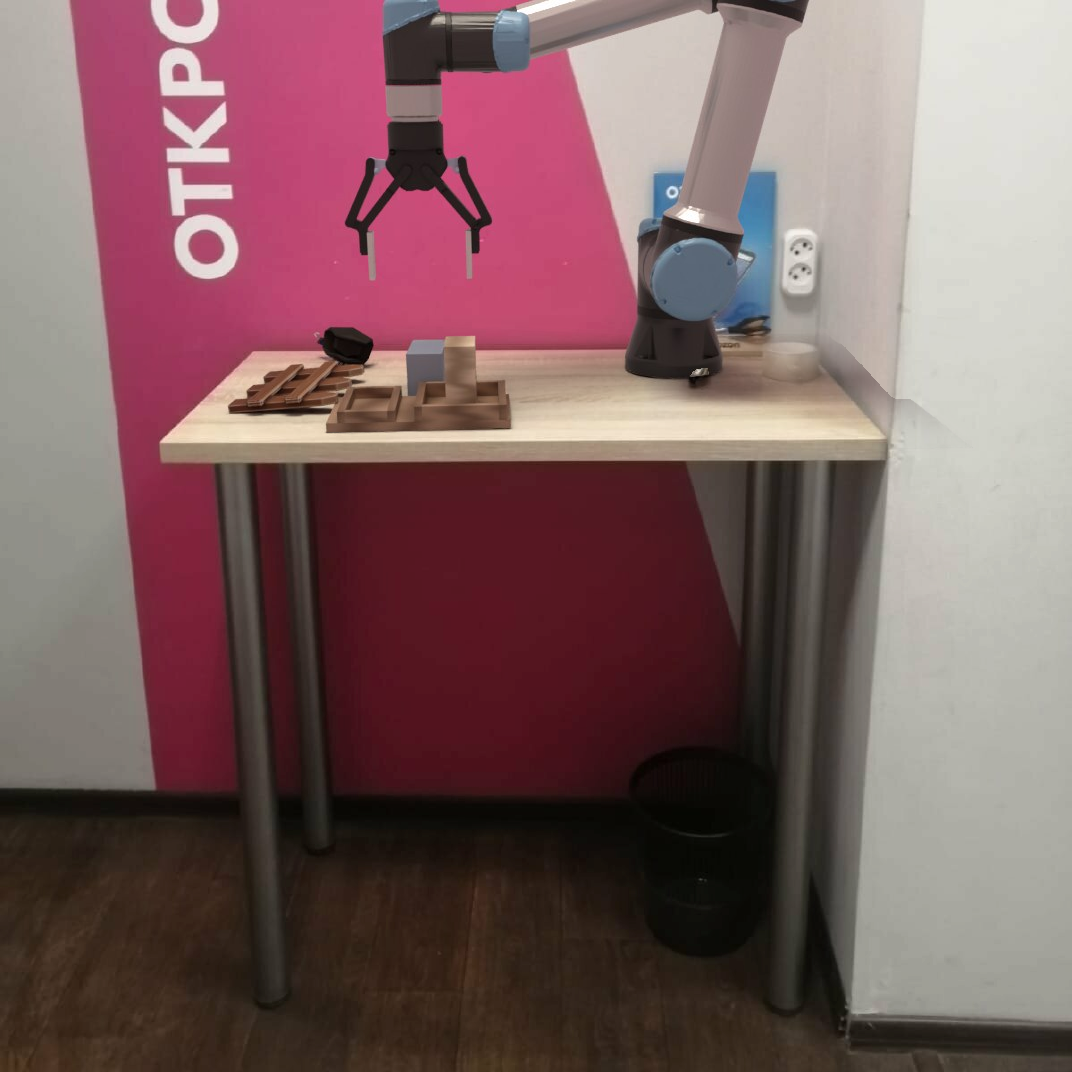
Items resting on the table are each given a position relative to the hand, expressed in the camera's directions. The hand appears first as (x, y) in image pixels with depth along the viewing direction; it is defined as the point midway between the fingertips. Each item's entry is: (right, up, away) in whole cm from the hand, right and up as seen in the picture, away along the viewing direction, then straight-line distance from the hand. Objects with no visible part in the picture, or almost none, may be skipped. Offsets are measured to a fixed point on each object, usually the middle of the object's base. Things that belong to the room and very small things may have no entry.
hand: (421, 278), depth 179 cm
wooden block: (+6, -19, -7) cm, 21 cm away
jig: (+1, -20, -7) cm, 21 cm away
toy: (-15, -8, +27) cm, 32 cm away
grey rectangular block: (+1, -16, +6) cm, 17 cm away
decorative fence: (-18, -16, +5) cm, 24 cm away
